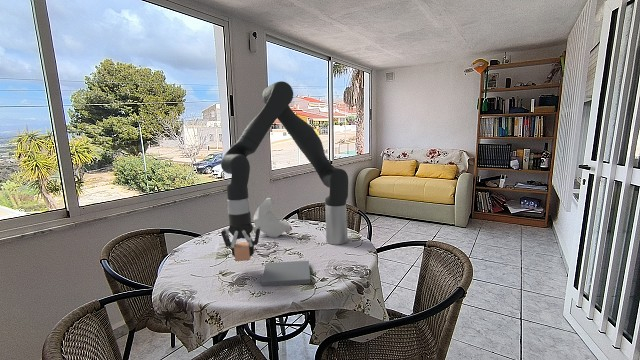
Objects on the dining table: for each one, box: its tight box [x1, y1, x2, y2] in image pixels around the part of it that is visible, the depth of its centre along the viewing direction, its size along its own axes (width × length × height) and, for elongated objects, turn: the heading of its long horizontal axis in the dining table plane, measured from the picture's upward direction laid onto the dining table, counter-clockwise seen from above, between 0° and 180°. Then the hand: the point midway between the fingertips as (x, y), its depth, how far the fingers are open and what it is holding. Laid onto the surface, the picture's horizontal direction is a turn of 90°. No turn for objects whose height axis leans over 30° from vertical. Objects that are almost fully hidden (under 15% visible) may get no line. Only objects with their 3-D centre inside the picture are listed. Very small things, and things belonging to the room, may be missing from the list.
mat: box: [260, 260, 311, 287], centre depth 105 cm, size 16×14×2 cm
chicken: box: [250, 197, 293, 238], centre depth 144 cm, size 7×19×20 cm
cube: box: [234, 241, 252, 262], centre depth 108 cm, size 5×5×5 cm
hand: (243, 255), depth 108 cm, fingers closed on cube, 5 cm apart
